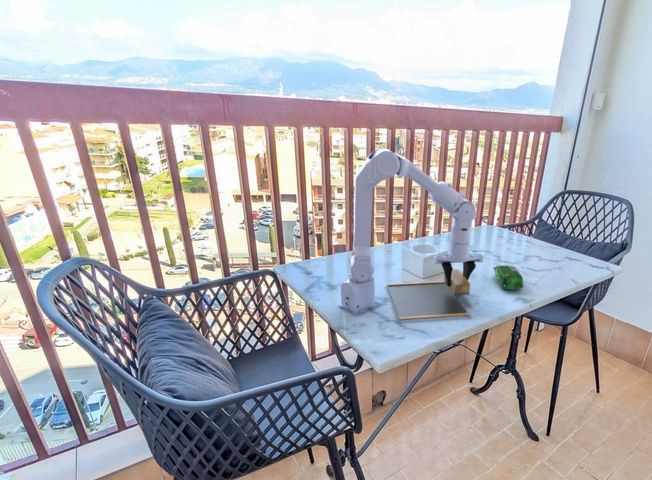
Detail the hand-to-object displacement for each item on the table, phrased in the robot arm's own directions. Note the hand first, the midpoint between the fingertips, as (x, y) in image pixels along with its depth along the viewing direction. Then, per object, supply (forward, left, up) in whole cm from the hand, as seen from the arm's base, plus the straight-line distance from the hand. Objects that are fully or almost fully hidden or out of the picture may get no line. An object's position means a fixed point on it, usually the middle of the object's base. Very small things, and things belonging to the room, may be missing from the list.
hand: (456, 284), depth 121 cm
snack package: (+23, -5, -5) cm, 24 cm away
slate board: (-8, +6, -5) cm, 11 cm away
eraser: (0, 0, -1) cm, 1 cm away
